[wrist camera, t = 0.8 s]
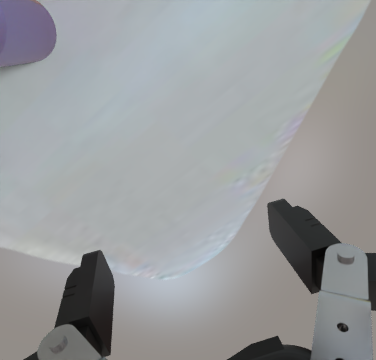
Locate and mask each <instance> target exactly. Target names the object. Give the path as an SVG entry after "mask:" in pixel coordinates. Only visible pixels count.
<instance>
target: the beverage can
mask: <svg viewBox="0 0 376 360" xmlns="http://www.w3.org/2000/svg"><path fill="white" fill-rule="evenodd" d="M55 43H56V28H55V24H54V21H53V19H52V17H51V15H50V14H49V12H48V11H47V10H46V9H45V8H44V6H42V5H41V4H40V3H39V2H38V1H36V0H0V67H5V66H11V65H18V64H24V63H31V62H37V61H40V60H43V59H45V58H46V57H47V56H48V55H49V54H50V53H51V52H52V50H53V49H54V46H55Z"/></svg>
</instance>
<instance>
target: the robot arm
mask: <svg viewBox="0 0 376 360" xmlns="http://www.w3.org/2000/svg"><path fill="white" fill-rule="evenodd" d="M267 207H268V219H269V229H270V233H271V236H272V238H273V240H274V242H275V243H276V245H277V246H278V248H279V249H280V250H281V252H282V253H283V255H284V256H285V257H286V259H287V260H288V262H289V263H290V264H291V266H292V267H293V269H294V270H295V271H296V273H297V274H298V276H299V277H300V278H301V280H302V281H303V283H304V284H305V285H306V287H307V288H308V290H309V291H310V292H311V294H313V293H317V292H319V297H318V305H317V313H316V321H315V328H314V336H313V344H312V351H311V350H309V349H306V348H303V347H299V346H295V345H282V343H281V341H280V339H279V337H278V336H276V337H272V338H269V339H266V340H263V341H260V342H257V343H253V344H251V345H249V346H248V347H246V348H244V349H243V350H241V351H240V352H238V353H237V354H235V355H234V356H232V357H231V358H229V359H227V360H373V347H372V322H371V321H372V320H371V310H375V311H376V253H364V252H363V251H362V250H361V249H360V248H358V247H356V246H354V245H350V244H344V243H341V242H340V241H339V240H338V239H337V238H336V237H335V236H334V235H333V234H332V233H331V232H330V231H329V230H328V229H327V228H326V227H325V226H324V225H322V224H321V223H320V222H319V221H318V220H317V219H315V217H314V216H313V215H312V214H311V213H310V212H309V211H308V210H306V209H304V208H301V207H299V206H295V207H292V206H291V205H290V204H289V203H288V202H287V201H286V200H285V199H281V200H277V201H274V202H270V203H268V206H267ZM114 288H115V286H114V279H113V275H112V273H111V270H110V268H109V266H108V264H107V262H106V259H105V257H104V255H103V253H102V251H101V250H98V251H94V252H91V253H87V254H84V255H83V257H82V261H81V266H80V267H79V268H75V269H74V270H73V271H72V273H71V274H70V275H69V277H68V278H67V282H66V286H65V290H64V293H63V299H62V301H61V304H60V308H59V312H58V316H57V320H56V324H55V328H54V329H53V330H52V331H50V332H49V333H48V334H47V335H46V336H45V337H44V338H43V340H42V341H41V343H40V345H39V347H38V351H37V352H35V353H34V354H32V355H31V356H29V357H27V358H26V359H24V360H107V359H106V358H105V357H106V356H109V355H110V353H111V338H112V321H113V305H114Z"/></svg>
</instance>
